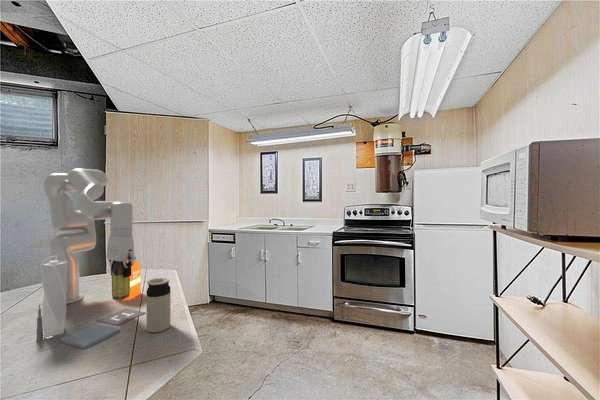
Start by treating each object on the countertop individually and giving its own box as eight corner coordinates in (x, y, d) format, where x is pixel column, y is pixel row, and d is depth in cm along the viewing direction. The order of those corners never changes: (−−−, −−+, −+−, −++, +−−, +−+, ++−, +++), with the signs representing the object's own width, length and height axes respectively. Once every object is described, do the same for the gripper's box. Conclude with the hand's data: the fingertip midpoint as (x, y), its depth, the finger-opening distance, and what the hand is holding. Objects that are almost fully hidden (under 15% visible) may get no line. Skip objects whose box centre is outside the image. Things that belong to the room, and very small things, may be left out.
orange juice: (140, 293, 138) (140, 254, 138) (130, 299, 129) (130, 258, 129) (125, 293, 138) (125, 254, 137) (113, 299, 129) (113, 258, 129)
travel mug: (146, 335, 96) (145, 285, 96) (147, 325, 103) (146, 279, 103) (170, 330, 100) (170, 281, 100) (170, 321, 107) (170, 276, 107)
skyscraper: (39, 332, 98) (39, 256, 98) (69, 326, 103) (68, 253, 103) (35, 342, 92) (35, 260, 91) (67, 335, 96) (66, 257, 96)
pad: (60, 342, 92) (60, 339, 92) (97, 326, 103) (97, 323, 103) (84, 348, 87) (84, 345, 87) (120, 331, 99) (120, 328, 99)
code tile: (96, 320, 107) (96, 319, 107) (125, 308, 119) (125, 308, 119) (118, 325, 103) (118, 324, 103) (145, 312, 115) (145, 312, 115)
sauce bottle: (117, 295, 114) (117, 248, 114) (133, 294, 115) (133, 248, 114) (107, 301, 108) (108, 251, 107) (124, 301, 108) (124, 251, 108)
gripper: (97, 231, 110) (97, 275, 110) (128, 235, 104) (127, 281, 104) (115, 229, 117) (115, 270, 117) (145, 232, 111) (144, 275, 112)
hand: (121, 275), depth 111 cm, fingers closed on sauce bottle, 6 cm apart
